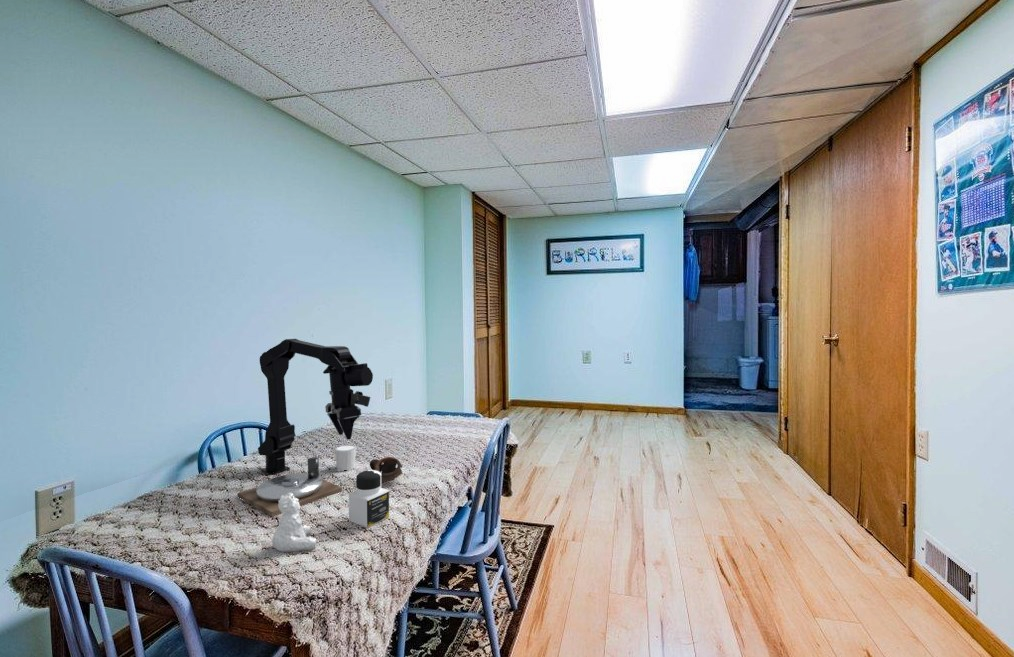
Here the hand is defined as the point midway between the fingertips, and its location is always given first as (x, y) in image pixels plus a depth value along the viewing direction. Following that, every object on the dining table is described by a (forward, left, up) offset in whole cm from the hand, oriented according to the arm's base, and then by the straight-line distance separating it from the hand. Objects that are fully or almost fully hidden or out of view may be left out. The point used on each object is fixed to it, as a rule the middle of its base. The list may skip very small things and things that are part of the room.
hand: (344, 436), depth 136 cm
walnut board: (-3, -15, -14) cm, 21 cm away
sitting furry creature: (+25, -29, -14) cm, 41 cm away
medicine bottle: (+28, -11, -14) cm, 33 cm away
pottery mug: (+10, +8, -14) cm, 19 cm away
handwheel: (-3, -15, -12) cm, 20 cm away
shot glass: (-9, +7, -14) cm, 18 cm away
